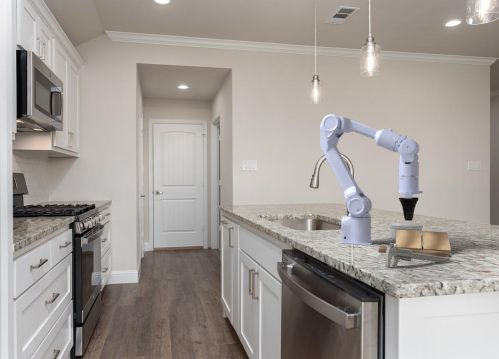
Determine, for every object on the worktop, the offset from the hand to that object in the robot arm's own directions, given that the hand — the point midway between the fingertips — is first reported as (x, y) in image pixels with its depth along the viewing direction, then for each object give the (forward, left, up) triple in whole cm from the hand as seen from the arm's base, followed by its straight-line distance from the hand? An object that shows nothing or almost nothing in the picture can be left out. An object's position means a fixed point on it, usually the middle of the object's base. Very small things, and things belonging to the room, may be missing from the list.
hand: (408, 220), depth 120 cm
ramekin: (-1, +18, -9) cm, 20 cm away
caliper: (+3, -25, -9) cm, 27 cm away
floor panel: (+1, -11, -8) cm, 14 cm away
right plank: (+7, -3, -6) cm, 10 cm away
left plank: (0, -3, -6) cm, 7 cm away
